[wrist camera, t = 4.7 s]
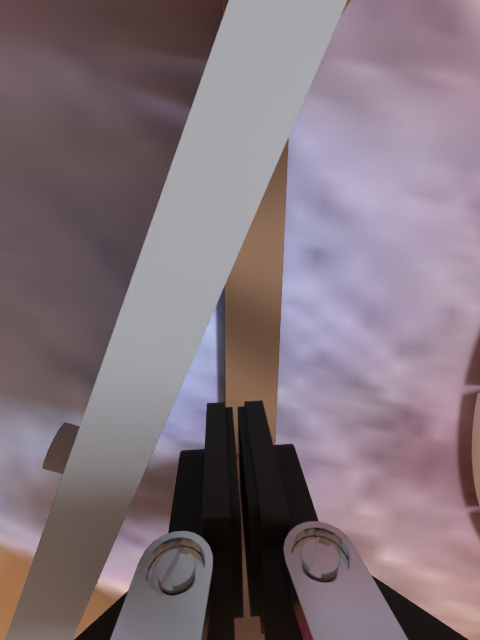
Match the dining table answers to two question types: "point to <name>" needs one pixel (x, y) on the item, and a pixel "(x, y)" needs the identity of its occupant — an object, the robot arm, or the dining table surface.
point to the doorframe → (256, 329)
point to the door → (173, 293)
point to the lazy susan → (476, 447)
